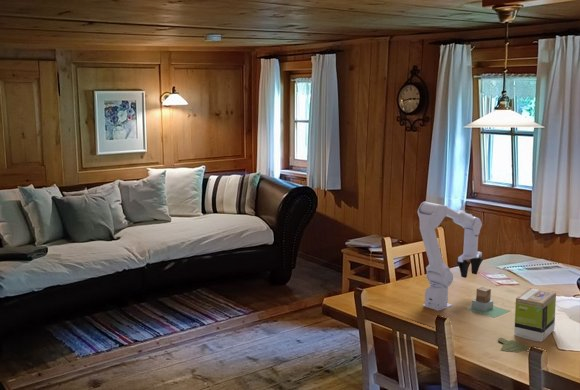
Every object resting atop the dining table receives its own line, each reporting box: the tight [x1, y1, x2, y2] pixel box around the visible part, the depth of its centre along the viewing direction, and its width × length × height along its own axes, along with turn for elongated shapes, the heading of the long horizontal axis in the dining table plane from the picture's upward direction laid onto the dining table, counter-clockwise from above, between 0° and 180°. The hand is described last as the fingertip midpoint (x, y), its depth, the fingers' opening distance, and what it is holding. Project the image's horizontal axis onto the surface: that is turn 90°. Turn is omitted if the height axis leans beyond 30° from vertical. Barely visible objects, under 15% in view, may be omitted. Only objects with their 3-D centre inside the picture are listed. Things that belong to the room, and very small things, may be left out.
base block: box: [471, 298, 494, 311], centre depth 259 cm, size 6×6×3 cm
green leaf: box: [497, 337, 531, 354], centre depth 218 cm, size 11×18×1 cm, turn 36°
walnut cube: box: [475, 286, 492, 303], centre depth 258 cm, size 4×4×5 cm
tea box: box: [513, 287, 557, 343], centre depth 232 cm, size 15×10×15 cm
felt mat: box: [466, 305, 511, 319], centre depth 257 cm, size 12×13×1 cm
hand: (469, 275), depth 271 cm, fingers open, 7 cm apart
